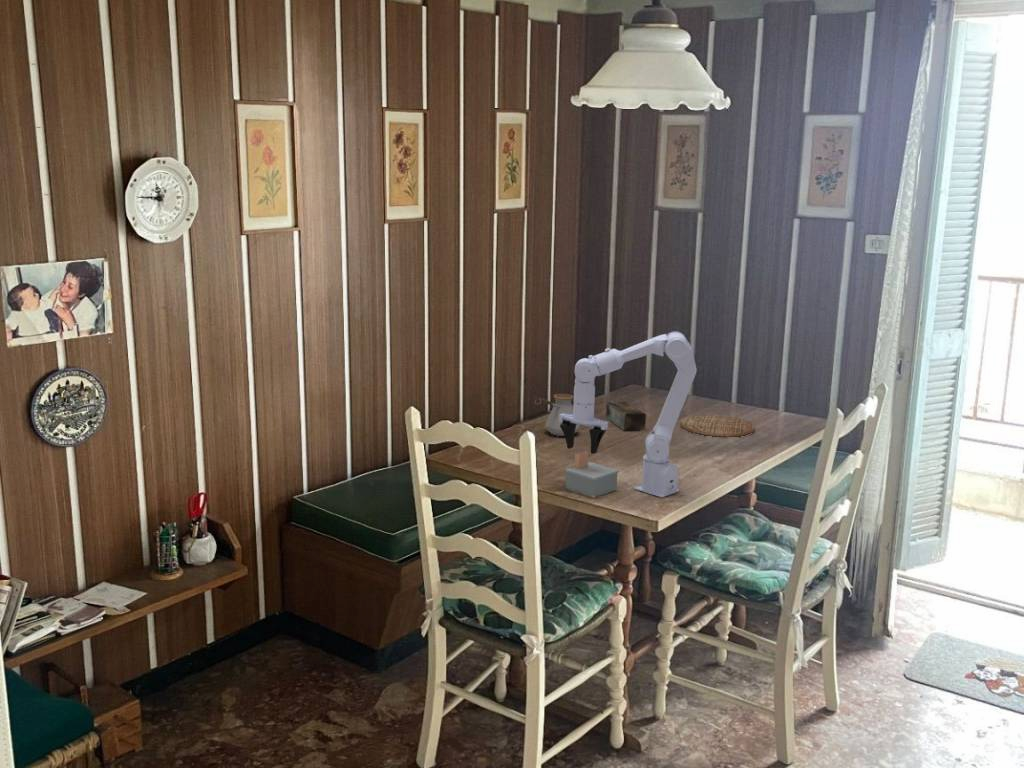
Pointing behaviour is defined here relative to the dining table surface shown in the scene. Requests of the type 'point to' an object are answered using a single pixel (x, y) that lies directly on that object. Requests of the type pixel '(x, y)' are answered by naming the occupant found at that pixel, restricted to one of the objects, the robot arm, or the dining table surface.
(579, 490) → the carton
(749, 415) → the dining table surface
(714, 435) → the trivet
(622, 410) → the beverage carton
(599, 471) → the lid
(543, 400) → the coffee pot
